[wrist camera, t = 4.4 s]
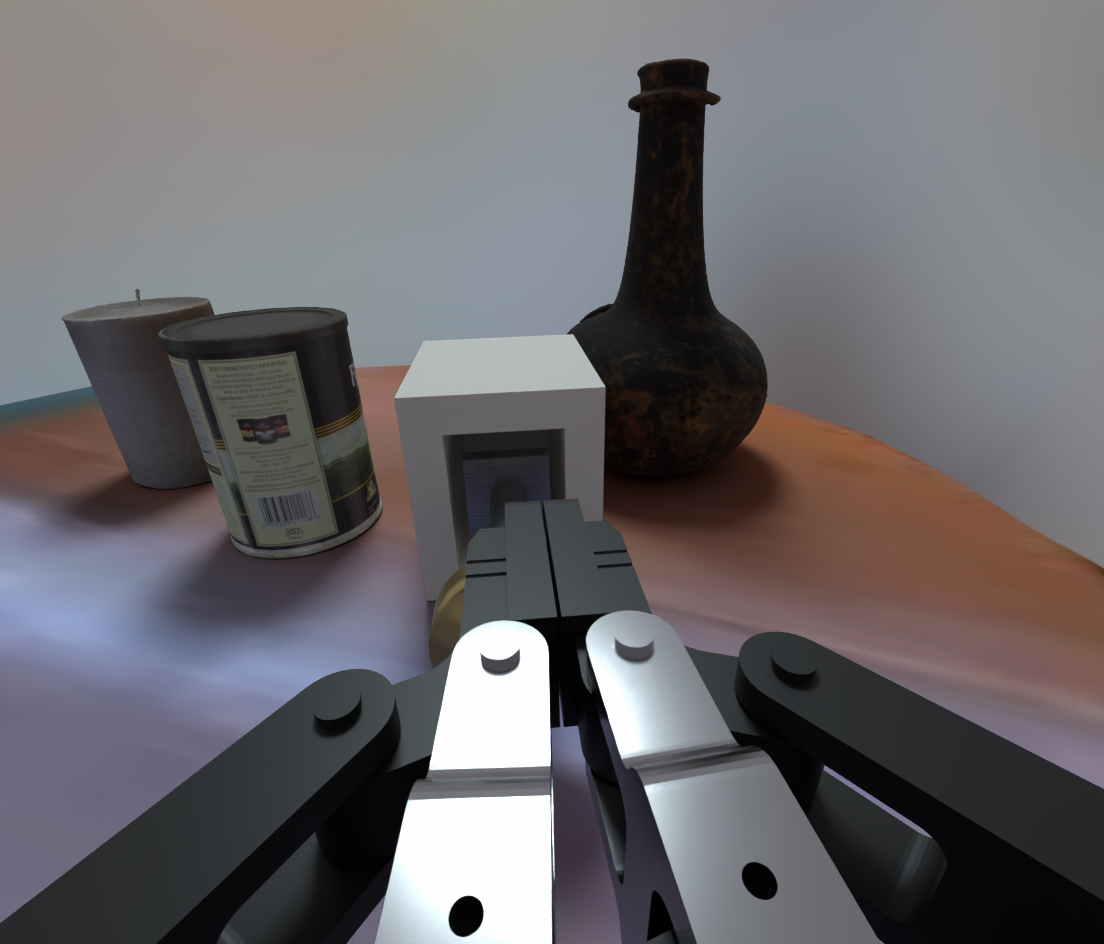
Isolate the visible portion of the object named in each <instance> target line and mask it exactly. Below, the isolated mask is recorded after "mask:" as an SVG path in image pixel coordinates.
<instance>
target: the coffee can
mask: <svg viewBox="0 0 1104 944" xmlns="http://www.w3.org/2000/svg"><path fill="white" fill-rule="evenodd" d="M347 326H348V320H347V315H346V313H345V312H342V311H340V310H336V309H332V308H319V307H292V308H291V307H290V308H272V309H259V310H252V311H240V312H232V313H225V314H219V315H212V316H207V317H202V318H198V319H193V320H188V321H184V322H180V323H177V324H174V325H171V326H169V327H166V328H165V329H163V330H161V331H160V332H159V333H158V337H159V339H160V342H161V344H162V346H163V347H164V348H165V349H166V351H167V353H168V356H169V359H170V362H171V365H172V368H173V371H174V374H175V376H176V379H177V382H178V385H179V388H180V391H181V393H182V396H183V399H184V402H185V405H186V408H187V410H188V413H189V416H190V419H191V422H192V425H193V428H194V430H195V433H196V436H197V439H198V442H199V445H200V448H201V450H202V453H203V456H204V459H205V462H206V464H207V468H208V470H209V473H210V476H211V479H212V482H213V485H214V488H215V491H216V494H217V496H218V499H219V502H220V505H221V508H222V511H223V513H224V516H225V519H226V522H227V525H228V528H229V531H230V537H231V541H232V543H233V546H234V547H236V548H237V549H238V550H240V551H241V552H243V553H245V554H247V555H250V556H255V557H260V558H270V559H278V558H290V557H298V556H305V555H309V554H314V553H317V552H321V551H324V550H327V549H330V548H333V547H336V546H339V545H341V544H343V543H345V542H347V541H349V540H351V539H353V538H355V537H356V536H358V535H360V534H361V533H363V532H364V531H365V530H367V529H368V528H369V527H370V526H371V525H372V524H373V523H374V522H375V521H376V520H377V519H378V517H379V516H380V513H381V510H382V501H381V498H380V496H379V490H378V486H377V481H376V476H375V471H374V466H373V461H372V456H371V451H370V446H369V441H368V436H367V431H366V425H365V420H364V415H363V410H362V404H361V399H360V394H359V388H358V383H357V379H356V373H355V367H354V362H353V357H352V352H351V347H350V342H349V336H348V332H347Z"/></svg>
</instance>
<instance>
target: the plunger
mask: <svg viewBox="0 0 1104 944" xmlns="http://www.w3.org/2000/svg"><path fill="white" fill-rule="evenodd" d="M462 465H463V474H464V483H465V493H466V502H467V511H468V520H469V530H470V539H471V540H472V538H473V537H474V536H475V534H476V533H477V532H478V531H479V529H483V528H498V527H505V503H511V502H527V501H540V505H541V512H542V502H543V501H544V500H550V469H549V452H548V448H547V447H545V448H529V449H512V450H496V451H479V452H463V457H462ZM542 518H543V514H542ZM465 579H466V565H465V566H464V567H462V568H461V569H459V570H458V571H457V572H456V573H455V574H453V575H452V576H451V577H450V579H449V580H448V581H447V582H446V583H445V584H444V586H443V588H442V589H441V591H440V593H439V595H438V597H437V599H436V603H435V606H434V612H433V619H432V626H431V632H430V640H429V652H430V657H431V661H432V664H433V666H434V668H435V667H437V666H438V665H440V664H441V663H442V662H443V661H444V660H446V659H447V658H448V657H449V655H450V654H451V653H452V652H453V651H454V648H455V646H456V644H457V643H458V641H459V638H460V633H461V621H462V609H463V598H464V586H465ZM559 695H560V693H559Z"/></svg>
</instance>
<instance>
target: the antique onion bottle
mask: <svg viewBox="0 0 1104 944" xmlns="http://www.w3.org/2000/svg"><path fill="white" fill-rule="evenodd" d="M708 73H709V66H708V65H707V64H706V63H704V62H700V61H698V60H693V59H673V60H664V61H660V62H653V63H648V64H646V65H645V66H643V67H641V68H640V69H639V70H638V73H637V74H638V76H639V78H640V84H641V93H640V94H638V95H637V96H634V97H632V98H631V99H630V100H629V103H628V106H629V108H630V109H631V110H634V111H636V112H640V119H639V120H640V121H639V133H638V148H637V160H636V173H635V184H634V195H633V204H632V215H631V223H630V233H629V241H628V247H627V254H626V259H625V266H624V272H623V276H622V281H621V285H620V289H619V292H618V295H617V297H616V300H615V302H614V304H608V305H605V306H602V307H599V308H598V309H596V310H594V311H592V312H590V313H589V314H588V315H586V316H585V317H584V318H583V319H582V320H581V321H580V323H579V324H577V325H576V326H574V327H573V328H572V329H571V330H570V331H569V332H568V333H567V334H566V335H571V334H573V335H574V337H575V338H576V340H577V342H578V343H579V345H580V346H581V348H582V350H583V351H584V353H585V355H586V356H587V358H588V359H589V361H590V363H591V364H592V366H593V368H594V369H595V371H596V372H597V374H598V376H599V377H600V379H601V381H602V382H603V384H604V385H605V387H606V389H605V437H604V467H606V468H609V469H612V470H615V471H618V472H622V473H626V474H632V475H638V476H671V475H678V474H683V473H688V472H692V471H695V470H698V469H701V468H703V467H706V466H708V465H710V464H712V463H714V462H716V461H718V460H720V459H722V458H723V457H724V456H726V455H728V454H729V453H730V452H731V451H732V450H734V449H735V448H736V447H737V446H738V445H739V444H740V443H741V442H742V441H743V440H744V439H745V437H746V436H747V435H748V434H749V433H750V432H751V430H752V429H753V427H754V426H755V424H756V423H757V421H758V419H759V417H760V415H761V413H762V410H763V408H764V404H765V401H766V397H767V385H768V384H767V372H766V367H765V363H764V360H763V357H762V355H761V353H760V351H759V349H758V348H757V346H756V344H755V343H754V342H753V340H752V339H751V338H750V337H749V336H748V335H747V334H746V333H745V332H744V331H743V330H742V329H741V328H740V327H738V326H737V325H736V324H734V323H733V322H731V321H730V320H728V319H727V318H726V317H724V316H723V315H722V314H720V312H719V311H718V310H717V309H716V307H715V305H714V303H713V301H712V298H711V295H710V291H709V286H708V281H707V274H706V264H705V253H704V235H703V233H704V232H703V151H704V124H705V105H706V104H710V105H715V104H717V103H718V102H719V101H720V99H721V98H720V96H718V95H716V94H714V93H711V92H709V91H707V80H708Z"/></svg>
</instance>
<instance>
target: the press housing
mask: <svg viewBox="0 0 1104 944" xmlns="http://www.w3.org/2000/svg"><path fill="white" fill-rule="evenodd" d="M605 389H606V387H605V385H604V384H603V382H602V381H601V379H600V377H599V376H598V374H597V372H596V371H595V369H594V368H593V366H592V364H591V363H590V361H589V359H588V358H587V356H586V355H585V353H584V351H583V350H582V348H581V346H580V345H579V343H578V342H577V340H576V338H575V337H574V335H573V334H571V335H551V336H550V335H548V336H529V337H528V336H526V337H504V338H481V339H461V340H460V339H459V340H439V341H438V340H437V341H424V342H423V344H422V346H421V348H420V350H419V352H418V354H417V356H416V357H415V359H414V361H413V363H412V365H411V367H410V369H409V371H408V373H407V375H406V376H405V378H404V380H403V382H402V384H401V386H400V388H399V390H398V392H397V394H396V395H395V397H394V401H395V407H396V414H397V420H398V426H399V432H400V438H401V445H402V451H403V457H404V463H405V469H406V476H407V482H408V488H409V494H410V500H411V507H412V513H413V519H414V525H415V532H416V538H417V544H418V550H419V556H420V563H421V569H422V575H423V581H424V587H425V594H426V600H427V601H434V600H436V599H437V597H438V595H439V593H440V591H441V589H442V588H443V586H444V584H445V583H446V582H447V581H448V580H449V579H450V577H451V576H452V575H453V574H455V573H456V572H457V571H458V570H459V569H461V568H462V567H464V566H465V565H466V564H467V551H468V543H469V542H470V541H471V539H470V530H469V520H468V511H467V502H466V493H465V483H464V474H463V465H462V457H463V452H479V451H496V450H512V449H529V448H545V447H547V448H548V452H549V469H550V500H559V499H575V498H578V500H579V504H580V507H581V511H582V514H583V518H584V521H585V522H587V521H602V520H603V485H604V437H605Z"/></svg>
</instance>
